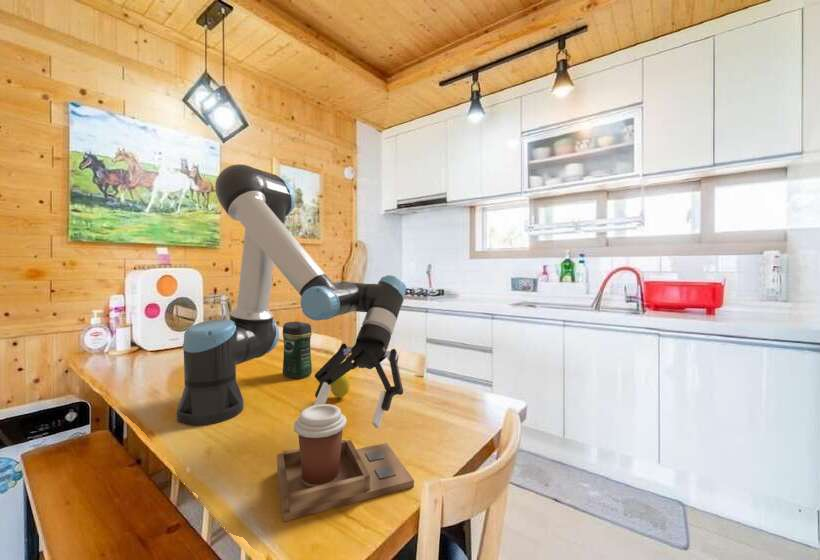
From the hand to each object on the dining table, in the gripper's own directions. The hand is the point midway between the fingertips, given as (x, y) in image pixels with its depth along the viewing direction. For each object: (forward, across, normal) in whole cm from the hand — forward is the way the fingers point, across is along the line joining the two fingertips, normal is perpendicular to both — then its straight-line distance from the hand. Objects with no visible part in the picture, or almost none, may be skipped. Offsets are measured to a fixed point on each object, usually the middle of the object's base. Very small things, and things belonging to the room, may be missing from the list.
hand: (344, 419), depth 71 cm
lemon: (-13, +17, -26) cm, 33 cm away
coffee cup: (+11, 0, +1) cm, 11 cm away
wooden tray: (+10, -3, -2) cm, 10 cm away
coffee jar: (-22, +41, -35) cm, 58 cm away
